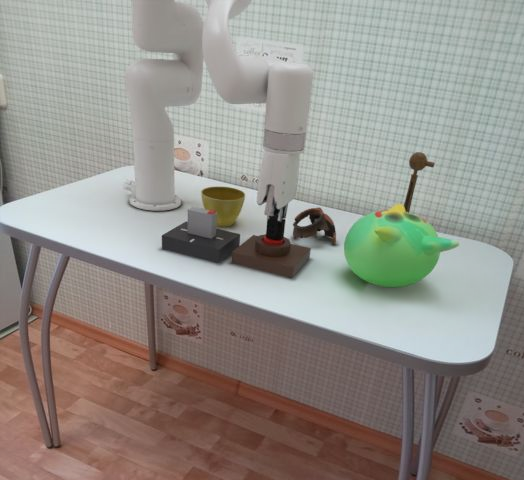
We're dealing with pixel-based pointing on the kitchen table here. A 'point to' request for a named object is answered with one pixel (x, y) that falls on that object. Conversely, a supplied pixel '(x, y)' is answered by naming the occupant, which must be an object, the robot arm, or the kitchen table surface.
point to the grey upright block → (202, 222)
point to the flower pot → (223, 203)
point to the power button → (272, 241)
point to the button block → (271, 256)
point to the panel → (200, 243)
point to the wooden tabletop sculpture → (415, 175)
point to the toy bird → (393, 247)
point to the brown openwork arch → (314, 224)
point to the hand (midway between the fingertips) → (274, 238)
